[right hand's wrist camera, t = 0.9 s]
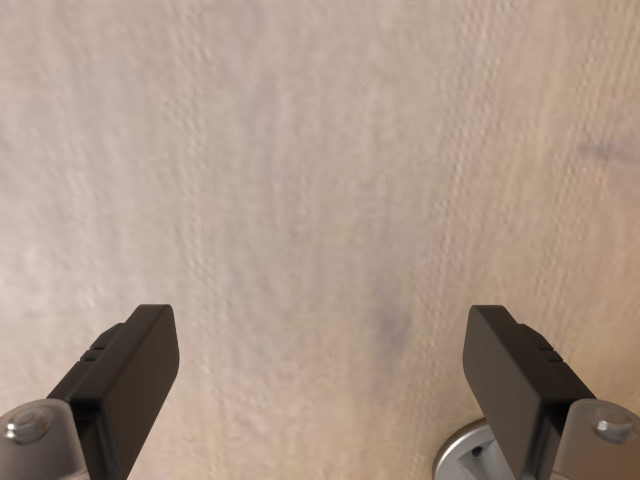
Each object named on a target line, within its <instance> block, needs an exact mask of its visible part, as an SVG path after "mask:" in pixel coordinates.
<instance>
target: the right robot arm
mask: <svg viewBox="0 0 640 480" xmlns="http://www.w3.org/2000/svg"><path fill="white" fill-rule="evenodd" d="M178 368H179V348H178V341H177V334H176V327H175V320H174V313H173V309H172V307H171V306H170V305H168V304H142V305H139V306H138V307H137V308H136V310H135V311H134V312H133V313H132V315H131V316H130V317H129V318H128V320H127V321H126V322H125V323H118V324H116V325H115V326H113V327H112V328H110V329H108V330H107V331H105V332H104V333H102V334H101V335H100V336H99V337H98V338H97V339H96V341H95V342H94V343H93V344H92V345H91V346H90V349H89V350H87V351H86V352H85V353H84V355H83V356H82V357H81V358H80V361H77V363H76V364H75V365H74V366H73V367H72V368H71V370H70V371H69V372H68V373H67V374H66V375H65V377H64V378H63V379H62V380H61V381H60V382H59V384H58V385H57V386H56V387H55V388H54V389H53V391H52V392H51V393H50V394H49V395H48V396H47V398H46V399H41V400H36V401H32V402H29V403H26V404H23V405H21V406H19V407H16V408H15V409H13V410H11V411H9V412H7V413H6V414H4V415H3V416H1V417H0V480H127V478H128V476H129V474H130V471H131V469H132V467H133V465H134V463H135V461H136V459H137V457H138V455H139V453H140V451H141V449H142V447H143V445H144V443H145V440H146V438H147V436H148V434H149V432H150V430H151V428H152V426H153V424H154V422H155V420H156V418H157V416H158V414H159V412H160V409H161V407H162V405H163V403H164V401H165V399H166V397H167V395H168V393H169V391H170V389H171V387H172V385H173V383H174V381H175V378H176V376H177V373H178ZM463 368H464V373H465V376H466V379H467V381H468V383H469V385H470V387H471V389H472V391H473V393H474V395H475V397H476V399H477V401H478V403H479V405H480V407H481V410H482V412H483V414H484V416H485V418H486V420H487V422H488V424H489V426H490V428H491V430H492V432H493V434H494V436H495V438H496V440H497V442H498V444H499V446H500V448H501V450H502V452H503V454H504V457H505V459H506V461H507V463H508V465H509V467H510V469H511V471H512V473H513V475H514V477H515V479H516V480H640V417H639V416H637V415H636V414H634V413H633V412H631V411H629V410H627V409H625V408H624V407H621V406H619V405H617V404H614V403H611V402H608V401H604V400H599V399H597V398H596V397H595V396H594V395H593V394H592V392H591V391H590V390H589V389H588V388H587V387H586V385H585V384H584V383H583V382H582V381H581V380H580V379H579V377H578V376H577V375H576V374H575V373H574V372H573V370H572V369H571V368H570V367H569V366H568V365H567V364H566V362H563V359H562V358H561V357H560V356H559V354H558V353H557V352H556V351H554V350H553V347H552V346H551V345H550V344H549V343H548V342H547V341H546V339H545V338H544V337H543V336H542V335H541V334H539V333H538V332H536V331H535V330H533V329H531V328H530V327H528V326H527V325H525V324H518V323H517V322H516V321H515V320H514V318H513V317H512V316H511V315H510V313H509V312H508V311H507V310H506V308H505V307H504V306H502V305H473V306H472V307H471V308H470V311H469V316H468V323H467V329H466V336H465V343H464V350H463Z"/></svg>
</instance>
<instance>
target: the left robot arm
mask: <svg viewBox="0 0 640 480" xmlns="http://www.w3.org/2000/svg"><path fill="white" fill-rule="evenodd" d="M432 479H433V480H516V479H515V477H514V475H513V473H512V471H511V469H510V467H509V465H508V463H507V461H506V459H505V457H504V454H503V452H502V450H501V448H500V446H499V444H498V442H497V440H496V438H495V436H494V434H493V432H492V430H491V428H490V426H489V424H488V422H487V420H486V418H483V419H480V420H477V421H475V422H473V423H471V424H469V425H467V426H465V427H463V428H462V429H460V430H459V431H457V432H456V433H455V434H453V435H452V436H451V437H450V438H449V439H448V440H447V441H446V442H445V443H444V444H443V446H442V447H441V448H440V450H439V452H438V453H437V455H436V458H435V460H434V463H433V468H432Z"/></svg>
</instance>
